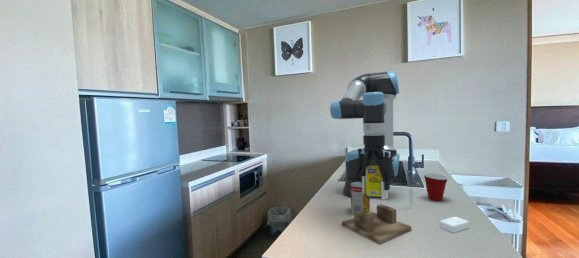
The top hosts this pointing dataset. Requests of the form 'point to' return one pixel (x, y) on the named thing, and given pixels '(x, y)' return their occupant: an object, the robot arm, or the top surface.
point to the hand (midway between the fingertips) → (374, 195)
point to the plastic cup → (435, 185)
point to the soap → (454, 224)
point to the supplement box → (373, 182)
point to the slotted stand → (377, 224)
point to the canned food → (359, 199)
